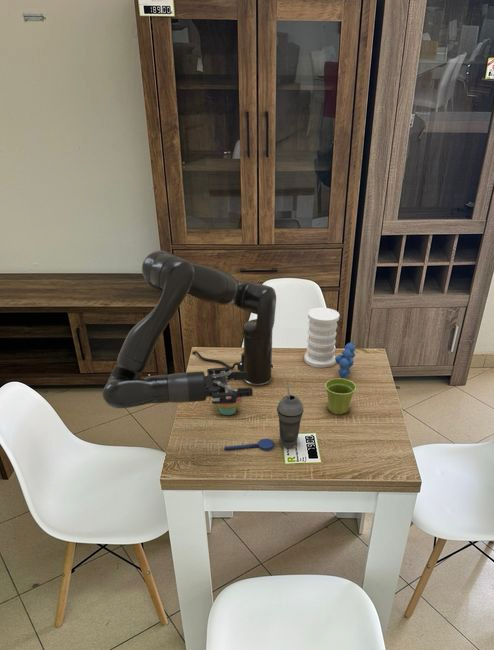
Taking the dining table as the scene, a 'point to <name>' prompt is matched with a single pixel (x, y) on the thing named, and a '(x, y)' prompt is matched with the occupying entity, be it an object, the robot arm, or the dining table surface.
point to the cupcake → (229, 406)
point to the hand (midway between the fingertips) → (249, 383)
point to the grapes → (346, 360)
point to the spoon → (255, 445)
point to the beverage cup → (289, 419)
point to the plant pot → (339, 394)
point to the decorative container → (321, 337)
